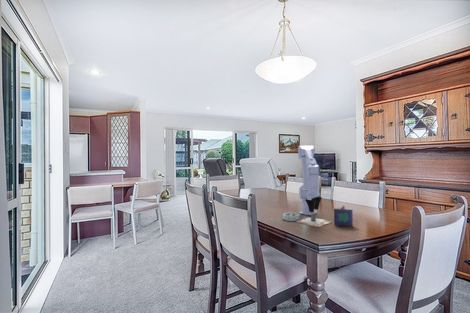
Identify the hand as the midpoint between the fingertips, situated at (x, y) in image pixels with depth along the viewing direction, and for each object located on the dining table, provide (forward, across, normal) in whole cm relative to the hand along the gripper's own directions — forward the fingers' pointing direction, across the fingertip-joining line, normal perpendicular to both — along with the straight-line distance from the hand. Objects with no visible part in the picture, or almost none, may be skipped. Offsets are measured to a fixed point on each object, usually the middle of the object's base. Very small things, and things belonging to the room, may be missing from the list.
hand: (313, 210), depth 141 cm
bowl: (+7, +1, -14) cm, 15 cm away
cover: (+6, 0, 0) cm, 6 cm away
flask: (+7, -2, +15) cm, 17 cm away
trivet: (+6, 0, 0) cm, 7 cm away
